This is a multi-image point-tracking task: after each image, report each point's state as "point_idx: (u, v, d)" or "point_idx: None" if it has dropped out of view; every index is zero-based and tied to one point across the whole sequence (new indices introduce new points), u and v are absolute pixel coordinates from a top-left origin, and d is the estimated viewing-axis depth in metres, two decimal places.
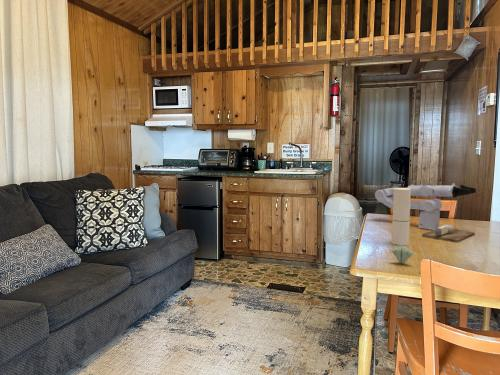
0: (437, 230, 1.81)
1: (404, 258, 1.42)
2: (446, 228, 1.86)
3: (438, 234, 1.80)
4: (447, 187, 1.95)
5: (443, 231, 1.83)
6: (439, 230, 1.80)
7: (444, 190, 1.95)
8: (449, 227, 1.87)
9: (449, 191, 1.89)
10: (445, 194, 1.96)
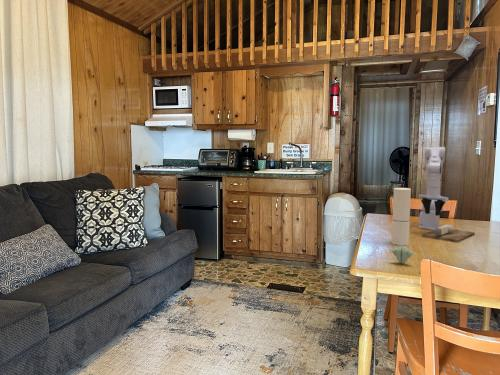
0: (437, 230, 1.81)
1: (404, 258, 1.42)
2: (446, 228, 1.86)
3: (438, 234, 1.80)
4: (427, 192, 1.87)
5: (443, 231, 1.83)
6: (439, 230, 1.80)
7: None
8: (449, 227, 1.87)
9: None
10: None
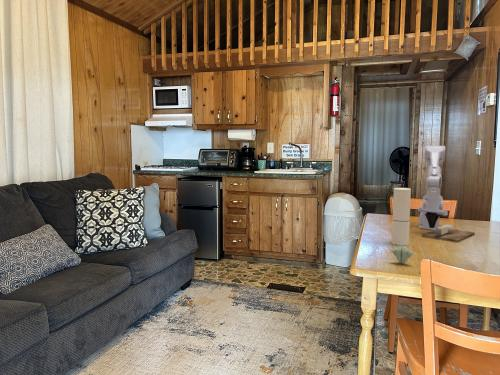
0: (437, 230, 1.81)
1: (404, 258, 1.42)
2: (446, 228, 1.86)
3: (438, 234, 1.80)
4: (426, 205, 1.88)
5: (443, 231, 1.83)
6: (439, 230, 1.80)
7: None
8: (449, 227, 1.87)
9: None
10: None
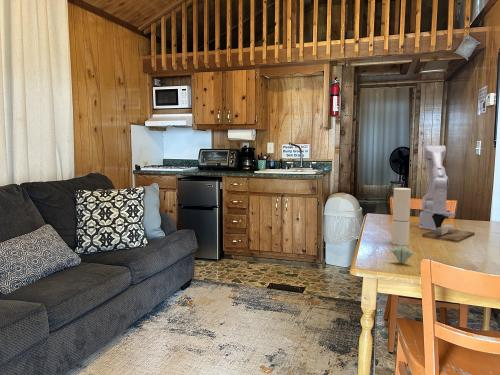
0: (437, 230, 1.80)
1: (404, 258, 1.42)
2: (447, 228, 1.86)
3: (438, 234, 1.80)
4: (433, 207, 1.85)
5: (443, 231, 1.83)
6: (439, 230, 1.80)
7: None
8: (449, 227, 1.87)
9: None
10: None
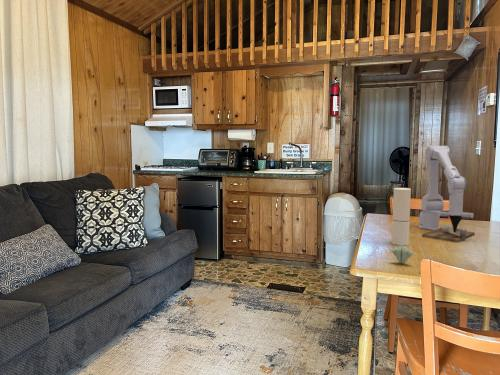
0: (465, 232, 1.77)
1: (404, 258, 1.42)
2: None
3: (465, 236, 1.77)
4: (451, 209, 1.79)
5: None
6: (466, 231, 1.77)
7: (449, 206, 1.80)
8: None
9: (438, 214, 1.82)
10: None
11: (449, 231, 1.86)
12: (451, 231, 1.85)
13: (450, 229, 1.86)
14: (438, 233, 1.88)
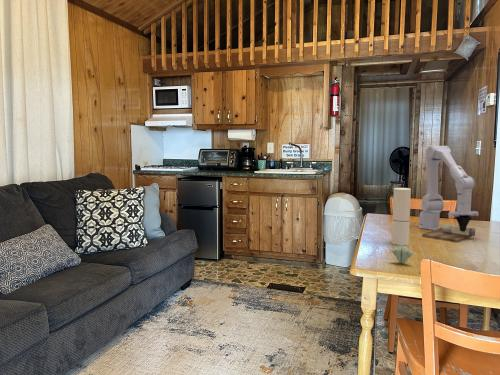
0: None
1: (404, 258, 1.42)
2: None
3: (474, 234, 1.80)
4: (463, 208, 1.78)
5: None
6: None
7: (459, 206, 1.79)
8: None
9: (450, 215, 1.79)
10: (457, 205, 1.81)
11: (452, 231, 1.86)
12: (455, 231, 1.85)
13: (453, 228, 1.86)
14: (438, 233, 1.88)
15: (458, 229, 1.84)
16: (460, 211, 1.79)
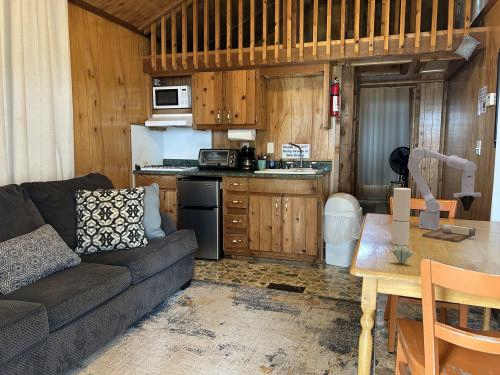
0: None
1: (404, 258, 1.42)
2: None
3: (474, 234, 1.80)
4: (467, 190, 1.94)
5: None
6: None
7: (463, 187, 1.96)
8: None
9: (455, 195, 1.95)
10: (461, 187, 1.98)
11: (452, 231, 1.86)
12: (455, 231, 1.85)
13: (453, 228, 1.86)
14: (438, 233, 1.88)
15: (458, 229, 1.84)
16: (464, 192, 1.95)
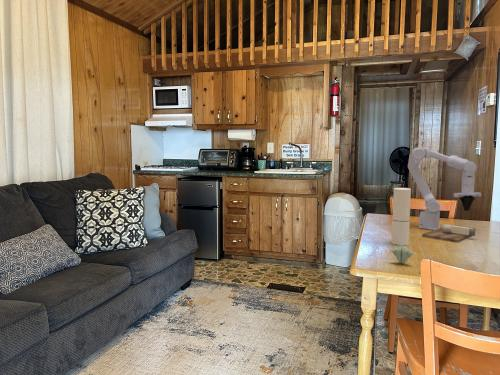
0: None
1: (404, 258, 1.42)
2: None
3: (474, 234, 1.80)
4: (467, 189, 1.95)
5: None
6: None
7: (463, 187, 1.96)
8: None
9: (455, 195, 1.96)
10: (461, 187, 1.98)
11: (452, 231, 1.86)
12: (455, 231, 1.85)
13: (453, 228, 1.86)
14: (438, 233, 1.88)
15: (458, 229, 1.84)
16: (464, 192, 1.96)
